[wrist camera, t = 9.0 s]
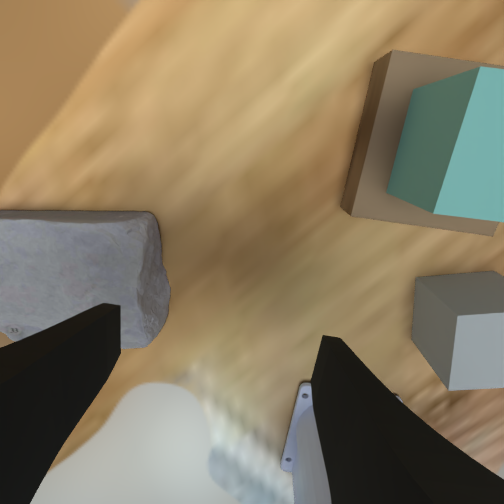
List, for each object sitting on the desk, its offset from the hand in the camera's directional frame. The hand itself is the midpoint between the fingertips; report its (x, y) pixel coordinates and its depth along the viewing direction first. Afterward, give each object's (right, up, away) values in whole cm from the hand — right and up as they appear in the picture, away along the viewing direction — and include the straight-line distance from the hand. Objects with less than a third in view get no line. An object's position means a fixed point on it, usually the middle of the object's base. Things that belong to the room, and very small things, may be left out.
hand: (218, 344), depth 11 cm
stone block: (-10, +2, +11) cm, 16 cm away
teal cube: (+11, +8, +5) cm, 15 cm away
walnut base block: (+11, +9, +8) cm, 17 cm away
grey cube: (+15, -1, +11) cm, 18 cm away
